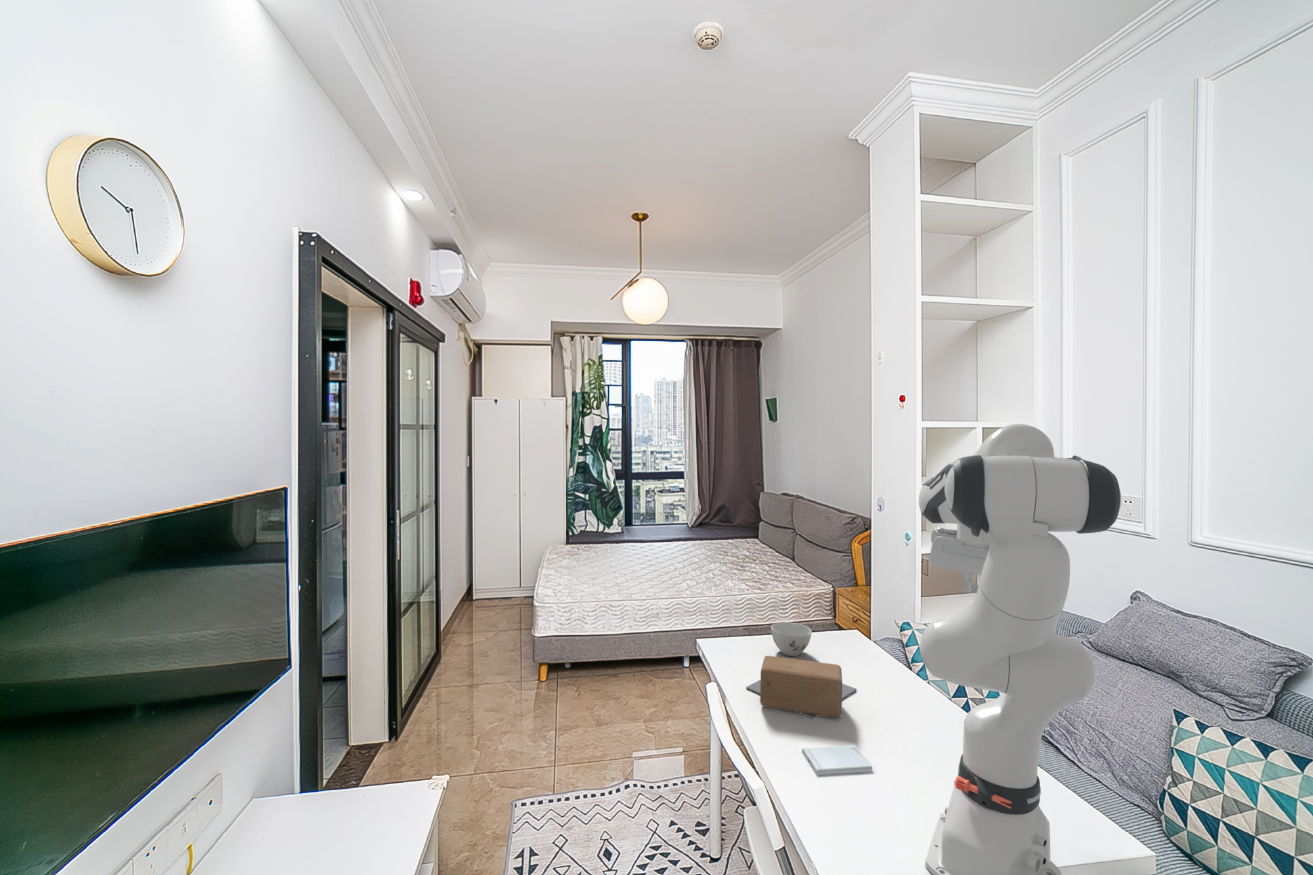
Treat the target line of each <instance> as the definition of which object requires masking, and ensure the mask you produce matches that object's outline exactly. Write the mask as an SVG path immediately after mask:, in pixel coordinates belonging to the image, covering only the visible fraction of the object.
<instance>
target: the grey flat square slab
mask: <svg viewBox="0 0 1313 875" xmlns="http://www.w3.org/2000/svg"><path fill="white" fill-rule="evenodd" d="M760 682H761V679H759V680H757V681H755V682H753V683H751V684H749V685H747V686H745V689H747V690H748V691H750V692H753V693H755V694H757V695H759V696H760ZM857 690H858V689H857V688H856V687H853V686H850V685H848V684H846V683H842V701H843V700H844V699H846V698H848V697H849V696H850V695H852V694H853V693H855V692H856V691H857ZM798 713H800V714H801V715H804V716H807V717H809V718H811V719H815V718H817V717H819V716H820V715H815V714H809V713H803V712H798Z"/></svg>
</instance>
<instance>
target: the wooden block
mask: <svg viewBox="0 0 1313 875" xmlns="http://www.w3.org/2000/svg"><path fill="white" fill-rule="evenodd" d="M760 680H761V682H760V695H759V696H760V697H759V703H760V705H761V706H762V707H765V708H769V709H771V708H772V709H778V710H785V711H791V712H797V713H799V712H803V713H809V714H815V715H819V716H824V717H827V718H829V717H830V718H836V719H839V718H840V717H841V716H842V710H843V706H842V705H843V702H842V701H843V700H842V684H843V673H842V667H841V665H840V664H835V663H827V662H819V661H810V660H806V659H805V660H803V659H797V658H789V657H788V658H787V657H781V656H780V657H779V656H773V655H765V656H764V658H763V661H762V665H761V668H760Z"/></svg>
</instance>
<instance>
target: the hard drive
mask: <svg viewBox="0 0 1313 875" xmlns="http://www.w3.org/2000/svg"><path fill="white" fill-rule="evenodd" d="M801 753H802V754H803V756H804V757H805V760H806V761H807V762H808V764H809V766H810V767H811V769H812V770H813V772H814V773H815V775H817V776H818V775H834V774H848V773H849V774H850V773H864V772H865V771H867V772H873V766H872V764H871V763H870V762H869V761H868V758H866V757H865V756H864V754H862V752H861V751H860V750H859V748H858V747H857V746H856V745H843V746H842V745H841V746H823V747H821V746H820V747H806V748H802V749H801ZM865 773H866V772H865Z"/></svg>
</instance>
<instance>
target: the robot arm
mask: <svg viewBox="0 0 1313 875" xmlns="http://www.w3.org/2000/svg"><path fill="white" fill-rule="evenodd" d="M1054 451H1055V450H1054V445H1053V443H1052V441H1051V440H1050V438H1049V436H1048V435H1046V433H1044V432H1043V431H1042V430H1041V429H1039V428H1037V427H1036V426H1032V425H1028V424H1023V423H1015V424H1013V423H1012V424H1009V425H1005V426H1002V427H1001V428H998V429H997V430H996V431H994V432H993V433H991V434H990V435H989V436H988V437H987V438H986V439H985V440H984V441H983V442H982V444H980V446H979V448H978V450H977V451H975V452H973V453H971V454H969V455H966V456H964V457H959V458H957V459H956V460H955V461H953V462H951V463H948V464H946V465H945V466H944V467H943V468H942V469H941V470H940V471H939V472H938V473H936V475H935V476H934V477H931V478H929V479H928V480H926V481H925V482H924V483H923V484H922V487H921V489H919V490H920V491H919V494H918V506H919V510H920V513H921V515H922V516H923V517H924V518H925V519H926V520H928V521H929V522H930V523H931V524H954V525H956V529H951V528H950V529H948V528H943V527H938V528H936V529H934V530H932V531H931V535H930V542H931V548H930V555H929V562H930V563H931V565H932V566H933V567H936V568H940V569H945V570H950V571H956V572H960V573H961V572H962V573H963V578H964V580H965V581H966V583H967V585H968V593H970V594H971V593H972V594H975V597H974V600H973V602H972V603H971V604H970V605H969V606H968V607H967V608H965V609H963V610H962V611H960V612H959V613H956V614H955V615H953V616H950V617H947V618H943V619H939V620H934V621H932V622H930V623H929V624H928V625H927V626H926V627H925V629H924V630H923V632H922V634H921V637H920V640H919V652H920V656H921V659H922V662H923V664H924V666H925V667H926V669H927V671H928V672H929V673H930V674H931V675H932V676H933V677H935V678H938V679H940V680H943V681H946V682H948V683H953V684H955V685H958V686H961V687H966V688H971V689H973V688H974V689H978V690H985V691H992V692H998V693H1001V694H1000V695H999V696H997V698H995V699H993V700H991V701H989V702H988V701H987V702H985V703H984V702H983V703H981V704H979V705H977V706H974V707H973V708H972V709H971V710H970V711H969V712H968V713H967V714H966V716H965V718H964V720H963V738H962V739H963V740H962V741H963V742H962V743H963V744H962V746H963V747H962V754H961V755H960V760H959V763H958V768H957V776H956V778H954V779H953V788H952V793H951V795H950V800H949V804H948V806H945V809H944V812H941V813H940V814H939V816H938V819H937V822H936V825H935V829H934V832H933V835H932V839H931V842H930V844H929V847H928V850H927V854H926V858H925V864H924V865H925V868H926V869H927V870H928V871H929V872H930V874H931V875H1063V874H1062V871H1061V870H1060V868H1059V867H1058V866H1057V865H1056V864H1055V863H1054V862H1053V861H1052V860H1051V830H1050V829H1051V826H1050V821H1049V820H1048V818H1047V816H1046V814H1045V813H1044V812H1043V811H1042V809H1041V807H1040V802H1041V801H1040V800H1041V799H1040V798H1041V793H1042V792H1041V791H1042V790H1041V781H1040V778H1039V775H1038V768H1039V767H1038V766H1039V765H1038V764H1039V754H1040V748H1041V741H1042V736H1043V734H1044V732H1045V730H1046V728H1047V726H1048V724H1049V723H1050V722H1051V721H1052V719H1053V718H1054V717H1056V715H1057V714H1059V713H1060V712H1061V711H1062V710H1064V709H1065V708H1066V707H1068V706H1070V705H1072V704H1074V703H1077V702H1078V701H1082V700H1084V699H1085V698H1086V697H1088V695H1089V694H1090V692H1091V691H1092V689H1093V687H1094V685H1095V682H1096V668H1095V664H1094V662H1093V659H1092V657H1091V655H1090V653H1089V652H1088V651H1087V649H1086V648H1085V647H1084V646H1083V645H1082V644H1081V642H1079V641H1078V640H1076V639H1072V638H1070V637H1067V636H1063V635H1061V634H1058V633H1055V632H1056V629H1057V626H1058V623H1059V621H1060V617H1061V615H1062V612H1063V609H1064V606H1065V603H1066V600H1067V598H1068V591H1069V588H1070V578H1071V560H1070V555H1069V552H1068V550H1067V547H1066V546H1065V545H1064V543H1063V542H1062V541H1061V540H1060V539H1059V538H1058V537H1056V535H1054V534H1052V533H1050V532H1054V533H1057V532H1059V533H1067V532H1068V533H1069V532H1076V533H1077V534H1079V535H1080V534H1083V535H1085V534H1093V533H1101V532H1106V531H1108V529H1110V528H1111V527H1112V526H1113V525H1114V524H1115V523H1116V521H1117V518H1118V516H1119V512H1120V509H1121V506H1122V493H1121V488H1120V485H1119V480H1118V478H1117V476H1116V475H1115V474H1114V473H1113V472H1112V471H1111V470H1110V469H1108V468H1107V467H1106V466H1104V465H1103V464H1099V463H1096V462H1093V461H1090V460H1085V459H1083V458H1082V457H1080V456H1077V455H1072V457H1057V456H1055V452H1054ZM974 575H977V576H980V577H979V583H978V584H977V583H976V584H975V582H974V580H973V578H972V577H974Z"/></svg>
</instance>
